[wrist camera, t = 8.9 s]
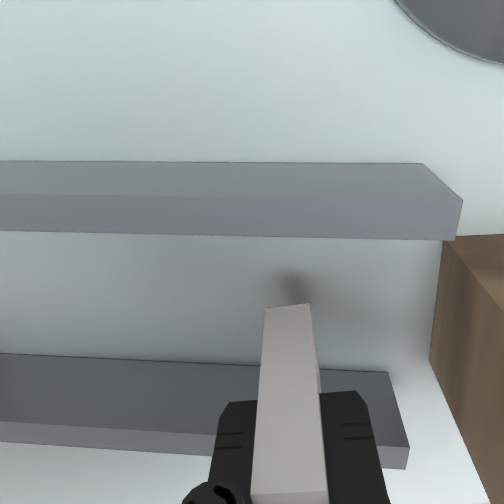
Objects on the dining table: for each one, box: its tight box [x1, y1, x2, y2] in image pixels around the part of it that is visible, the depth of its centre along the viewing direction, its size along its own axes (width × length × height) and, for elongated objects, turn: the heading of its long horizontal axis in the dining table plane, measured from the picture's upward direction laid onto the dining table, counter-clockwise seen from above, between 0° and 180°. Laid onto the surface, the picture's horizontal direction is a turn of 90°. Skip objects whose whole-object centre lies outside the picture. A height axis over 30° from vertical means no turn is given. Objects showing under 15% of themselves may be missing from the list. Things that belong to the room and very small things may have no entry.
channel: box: [0, 161, 463, 470], centre depth 16 cm, size 24×11×5 cm, turn 91°
